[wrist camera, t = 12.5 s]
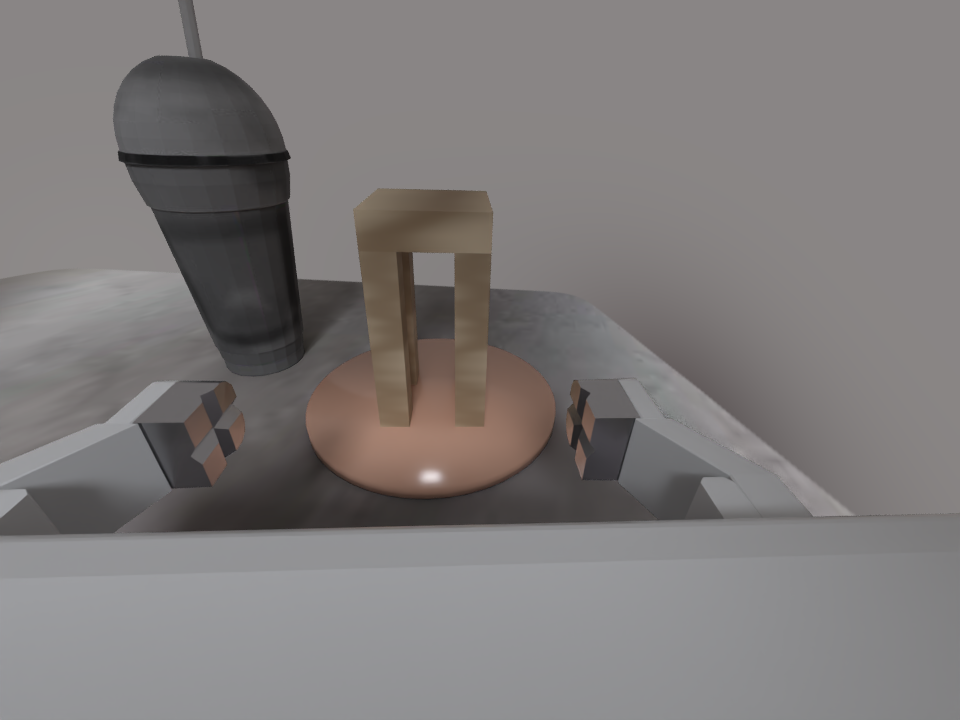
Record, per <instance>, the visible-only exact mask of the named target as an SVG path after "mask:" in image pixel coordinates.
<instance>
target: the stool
mask: <svg viewBox="0 0 960 720" xmlns="http://www.w3.org/2000/svg"><path fill="white" fill-rule="evenodd" d="M353 211H354V219H355V227H356V235H357V243H358V250H359V259H360V267H361V275H362V283H363V291H364V299H365V307H366V315H367V323H368V331H369V339H370V347H371V355H372V363H373V371H374V379H375V387H376V395H377V403H378V411H379V419H380V427H410V422H411V416H412V410H413V406H412V392H411V385H417V381H418V375H419V360H418V342H417V325H416V307H415V290H414V274H413V255H412V252H424V253H426V252H427V253H455V427H484V415H485V391H486V368H487V344H488V321H489V298H490V274H491V272H490V271H491V250H492V226H493V211H492V208H491V204H490V201H489V198H488V195H487V192H486V191H461V190H459V191H458V190H457V191H456V190H420V189H377V190H376V191H375V192H374V193H372V194H371V195H370V196H369V197H368V198H366V199H365V200H364V201H363V202H362V203H360V204H359V205H358V206H357V207H356V208H354V209H353Z"/></svg>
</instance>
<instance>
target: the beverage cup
mask: <svg viewBox="0 0 960 720" xmlns="http://www.w3.org/2000/svg"><path fill="white" fill-rule="evenodd" d="M178 2H179V7H180V13H181V18H182V23H183V28H184V34H185V39H186V44H187V49H188V55H189V57H181V56H154V57H152V58H150V59H147V60H145V61H143V62H141V63H140V64H139V65H137V66H136V67H135V68H133V69H132V70H131V71H130V73H129V74H128V75H127V76H126V77H125V79H124V80H123V81H122V84H121V86H120V88H119V90H118V92H117V95H116V100H115V104H114V117H113V122H114V130H115V136H116V140H117V143H118V147H119V150H120V151H118V156H119V161H121V162H124V163H125V165H126V167H127V170H128V172H129V175H130V177H131V179H132V181H133V183H134V185H135V186H136V188H137V190H138V191H139V193H140V195H141V196H142V198H143V200H144V201H145V203H146V205H147V206H149V207H151V209H152V211H153V213H154V214H155V217H156V219H157V221H158V224H159V226H160V228H161V230H162V232H163V234H164V236H165V238H166V241H167V243H168V245H169V247H170V249H171V252H172V254H173V256H174V258H175V260H176V262H177V264H178V267H179V268H180V271H181V273H182V275H183V277H184V279H185V282H186V284H187V286H188V288H189V290H190V292H191V294H192V297H193V299H194V301H195V303H196V305H197V307H198V309H199V312H200V314H201V316H202V318H203V320H204V322H205V324H206V327H207V329H208V331H209V333H210V335H211V337H212V339H213V342H214V344H215V346H216V347H217V348H218V349H219V351H220V353H221V355H222V357H223V359H224V360H225V363H226V366H227V368H228V369H229V370H230V371H231V372H232V373H235V374H238V375H244V376H259V375H267V374H271V373H276V372H279V371H282V370H284V369H287V368H289V367H291V366H292V365H294V364H296V363H297V362H298V361H299V360H300V359H301V358H302V357H303V354H304V347H303V335H302V331H303V325H302V316H301V308H300V299H299V291H298V282H297V273H296V265H295V256H294V247H293V239H292V230H291V221H290V213H289V205H288V199H289V198H290V173H289V167H288V161H287V160H288V159H290V158H291V157H290V155H289V153H288V151H287V150H286V148H285V145H284V141H283V137H282V134H281V132H280V129H279V127H278V124H277V122H276V121H275V119H274V117H273V115H272V113H271V111H270V110H269V109H268V107H267V106H266V104H265V103H264V102H263V100H262V99H261V98H260V97H259V95H258V94H257V93H256V92H255V91H254V90H253V89H252V88H251V87H250V86H249V85H248V84H247V83H246V82H245V81H243V80H242V79H241V78H240V77H239V76H237V75H236V74H234V73H233V72H231V71H230V70H228V69H227V68H225V67H223V66H221V65H219V64H217V63H215V62H213V61H211V60H207V59H203V56H202V51H201V45H200V40H199V34H198V29H197V23H196V17H195V12H194V6H193V1H192V0H178Z"/></svg>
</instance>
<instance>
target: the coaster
mask: <svg viewBox="0 0 960 720" xmlns="http://www.w3.org/2000/svg"><path fill="white" fill-rule="evenodd" d="M417 342H418V360H419V375H418V381H417V385H411V392H412V406H413V410H412V416H411V422H410V427H380V419H379V411H378V403H377V395H376V387H375V379H374V371H373V363H372V355H371V350H370V351H367V352H365V353H363V354H360V355H358V356H356V357H354V358H352V359H350V360H348V361H347V362H345V363H343V364H342V365H340V366H339V367H337V368H336V369H334V370H333V371H332V372H331V373H330V374H329V375H327V376H326V377H325V378H324V379H323V380H322V382H321V383H320V384H319V385H318V386H317V388H316V389H315V391H314V392H313V394H312V396H311V398H310V400H309V403H308V406H307V411H306V427H307V431H308V435H309V438H310V442H311V446H312V447H313V449H314V451H315V453H316V455H317V456H318V458H319V459H320V460H321V461H322V462H323V464H324V465H325V466H326V467H327V468H328V469H330V470H331V471H332V472H333V473H334V474H336V475H337V476H339V477H340V478H342V479H344V480H345V481H347V482H349V483H351V484H353V485H355V486H358V487H360V488H363V489H365V490H368V491H372V492H375V493H379V494H383V495H387V496H394V497H401V498H414V499H433V498H447V497H453V496H459V495H465V494H469V493H473V492H476V491H480V490H483V489H486V488H489V487H491V486H494V485H496V484H499V483H501V482H503V481H505V480H507V479H509V478H510V477H512V476H514V475H516V474H518V473H519V472H520V471H522V470H523V469H524V468H526V467H527V466H528V465H530V464H531V463H532V462H533V461H534V460H535V459H536V458H537V457H538V455H539V454H540V453H541V452H542V450H543V449H544V447H545V446H546V445H547V443H548V440H549V438H550V436H551V434H552V430H553V425H554V419H555V400H554V396H553V393H552V391H551V388H550V386H549V385H548V383H547V382H546V380H545V379H544V377H543V376H542V375H541V374H540V373H539V372H538V371H537V370H536V369H535V368H534V367H532V366H531V365H530V364H529V363H527V362H525V361H524V360H522V359H521V358H519V357H517V356H515V355H513V354H511V353H509V352H507V351H504V350H502V349H499V348H496V347H493V346H490V345H487V368H486V391H485V415H484V427H455V339H420V340H417Z"/></svg>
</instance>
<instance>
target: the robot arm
mask: <svg viewBox="0 0 960 720" xmlns="http://www.w3.org/2000/svg"><path fill="white" fill-rule="evenodd" d="M570 395H571V398H572V400H573V404H572V405H571V406H570V407H569V408H568V410H567V418H566V431H567V437H568V441H569V444H570V446H571V447H572V448H573V449H575V450H576V455H575V461H576V464H577V467H578V470H579V473H580V476H581V479H582V480H618V483H619V484H620V485H622V486H623V487H624V488H625V489H626V490H627V491H628V492H629V493H630V494H631V495H632V496H634V497H635V498H636V499H637V500H638V501H639V502H640V503H641V504H642V505H643V506H644V507H646V508H647V509H648V510H649V511H650V512H651V513H652V514H653V515H654V516H655V517H656V518H657V519H659V520H651V521H612V522H574V523H528V524H482V525H437V526H394V527H353V528H312V529H272V530H229V531H186V532H142V533H114V532H115V531H117V530H118V529H120V528H121V527H122V526H124V525H125V524H126V523H128V522H129V521H131V520H132V519H133V518H135V517H136V516H137V515H139V514H140V513H142V512H143V511H144V510H146V509H147V508H148V507H150V506H151V505H153V504H154V503H155V502H157V501H158V500H159V499H161V498H162V497H164V496H165V495H166V494H168V493H169V492H170V491H172V488H195V487H212V486H213V485H214V483H215V482H216V480H217V479H218V477H219V476H220V475H221V473H222V472H223V470H224V469H225V467H226V466H227V462H226V459H225V457H227V456H229V455H230V454H232V453H233V452H235V451H237V449H238V448H239V446H240V444H241V443H242V441H243V437H244V432H245V422H244V417H243V414H242V412H241V411H240V410H239V409H238V408H236V407H235V406H234V405H233V402H234V400H235V398H236V394H235V392H234V389H233V387H232V385H231V384H229V383H228V382H226V381H179V380H176V381H157V382H153V383H152V384H150V385H149V386H148V387H147V388H146V389H144V390H143V391H142V392H141V393H140V394H139V395H137V396H136V397H135V398H134V399H133V400H132V401H130V402H129V403H128V404H127V405H126V406H124V407H123V408H122V409H121V410H120V411H119V412H117V413H116V414H115V415H114V416H113V417H112V418H110V419H109V420H108V421H107V422H106V423H104V424H95V425H93V426H90V427H88V428H86V429H83V430H81V431H78V432H76V433H74V434H71V435H69V436H66V437H64V438H61V439H59V440H57V441H54V442H52V443H49V444H47V445H45V446H42V447H40V448H37V449H35V450H33V451H30V452H28V453H25V454H23V455H20V456H18V457H16V458H13V459H11V460H8V461H6V462H4V463H1V464H0V720H960V513H949V514H912V515H911V514H908V515H867V516H824V517H813V516H812V514H811V513H810V512H809V511H808V510H807V509H806V508H805V507H804V505H803V504H802V503H801V502H800V501H799V500H798V499H797V498H796V496H795V495H794V494H793V493H792V492H791V491H790V490H789V489H788V487H787V486H786V485H785V484H784V483H783V482H782V481H781V480H780V478H779V477H778V476H777V475H776V474H774V473H772V472H770V471H768V470H766V469H765V468H763V467H761V466H759V465H757V464H755V463H753V462H752V461H750V460H748V459H746V458H744V457H742V456H741V455H739V454H737V453H735V452H733V451H731V450H729V449H728V448H726V447H724V446H722V445H720V444H718V443H717V442H715V441H713V440H711V439H709V438H707V437H705V436H704V435H702V434H700V433H698V432H696V431H694V430H692V429H691V428H689V427H687V426H685V425H683V424H681V423H680V422H678V421H676V420H674V419H672V418H665V417H664V416H663V414H662V413H661V411H660V410H659V409H658V407H657V406H656V404H655V403H654V402H653V400H652V399H651V397H650V396H649V394H648V393H647V392H646V390H645V389H644V387H643V386H642V384H641V383H640V382H639V380H637V379H635V378H622V379H597V380H574V381H573V384H572V387H571V392H570Z"/></svg>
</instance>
